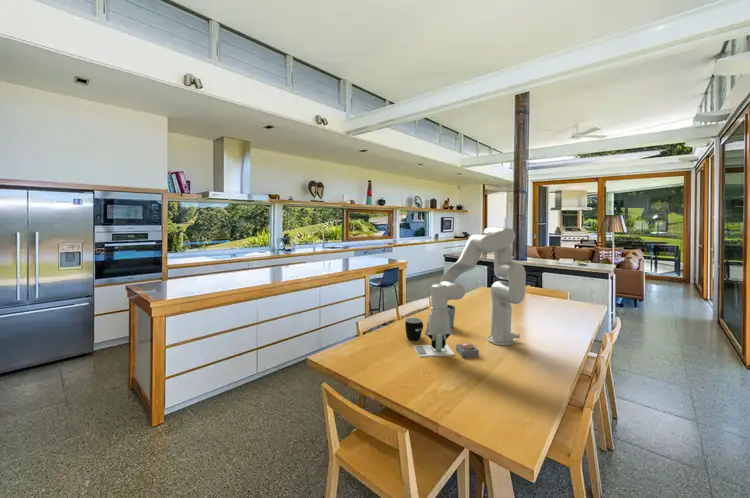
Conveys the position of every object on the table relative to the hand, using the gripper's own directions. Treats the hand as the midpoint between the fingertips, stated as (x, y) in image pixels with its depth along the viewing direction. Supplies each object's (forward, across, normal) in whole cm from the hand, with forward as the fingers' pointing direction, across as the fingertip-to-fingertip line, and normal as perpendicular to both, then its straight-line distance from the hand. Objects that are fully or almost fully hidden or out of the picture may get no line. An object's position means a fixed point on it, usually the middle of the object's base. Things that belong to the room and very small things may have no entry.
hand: (438, 347), depth 160 cm
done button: (+1, -13, +3) cm, 14 cm away
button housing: (+3, -13, +3) cm, 14 cm away
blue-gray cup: (+3, -15, -35) cm, 39 cm away
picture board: (+2, +2, -2) cm, 4 cm away
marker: (+1, 0, 0) cm, 1 cm away
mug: (+3, +7, -19) cm, 21 cm away
